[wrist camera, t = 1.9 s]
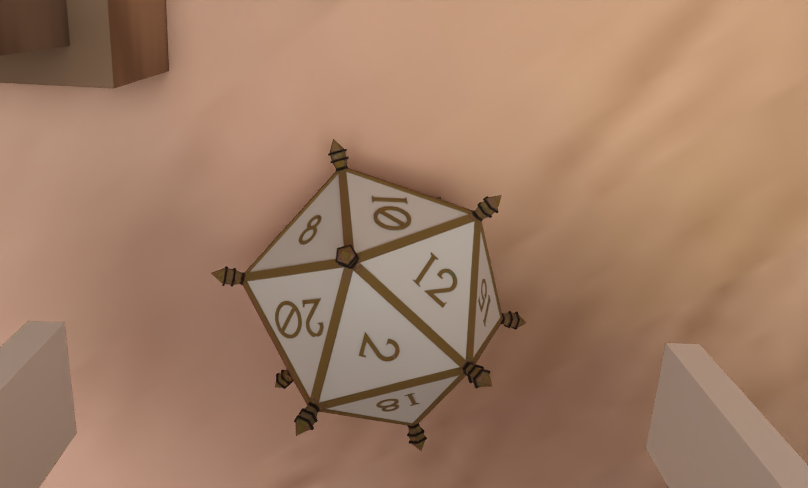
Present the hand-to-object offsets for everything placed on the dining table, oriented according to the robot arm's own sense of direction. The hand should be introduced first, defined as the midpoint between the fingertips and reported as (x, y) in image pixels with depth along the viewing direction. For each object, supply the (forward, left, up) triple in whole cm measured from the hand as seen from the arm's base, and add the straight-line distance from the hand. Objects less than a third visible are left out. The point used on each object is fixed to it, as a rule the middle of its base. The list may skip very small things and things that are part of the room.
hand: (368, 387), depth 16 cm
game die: (0, 0, -10) cm, 10 cm away
